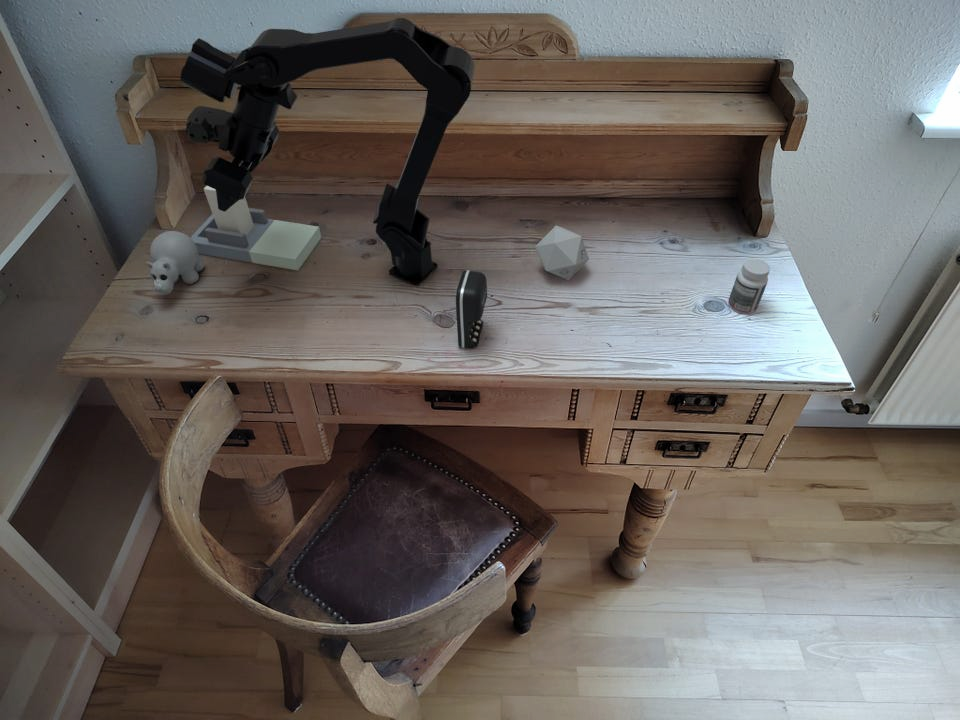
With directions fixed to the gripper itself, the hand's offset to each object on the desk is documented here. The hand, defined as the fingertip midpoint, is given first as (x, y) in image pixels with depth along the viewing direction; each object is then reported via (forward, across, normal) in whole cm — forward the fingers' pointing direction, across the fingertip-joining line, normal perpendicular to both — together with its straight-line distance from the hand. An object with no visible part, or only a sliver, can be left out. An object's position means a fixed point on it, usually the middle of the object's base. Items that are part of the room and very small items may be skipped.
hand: (231, 193), depth 109 cm
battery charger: (-7, +16, +43) cm, 46 cm away
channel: (+14, -6, +6) cm, 16 cm away
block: (+13, -6, +2) cm, 14 cm away
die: (-14, -2, +55) cm, 57 cm away
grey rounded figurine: (+19, +6, -3) cm, 20 cm away
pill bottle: (-28, +6, +82) cm, 87 cm away
